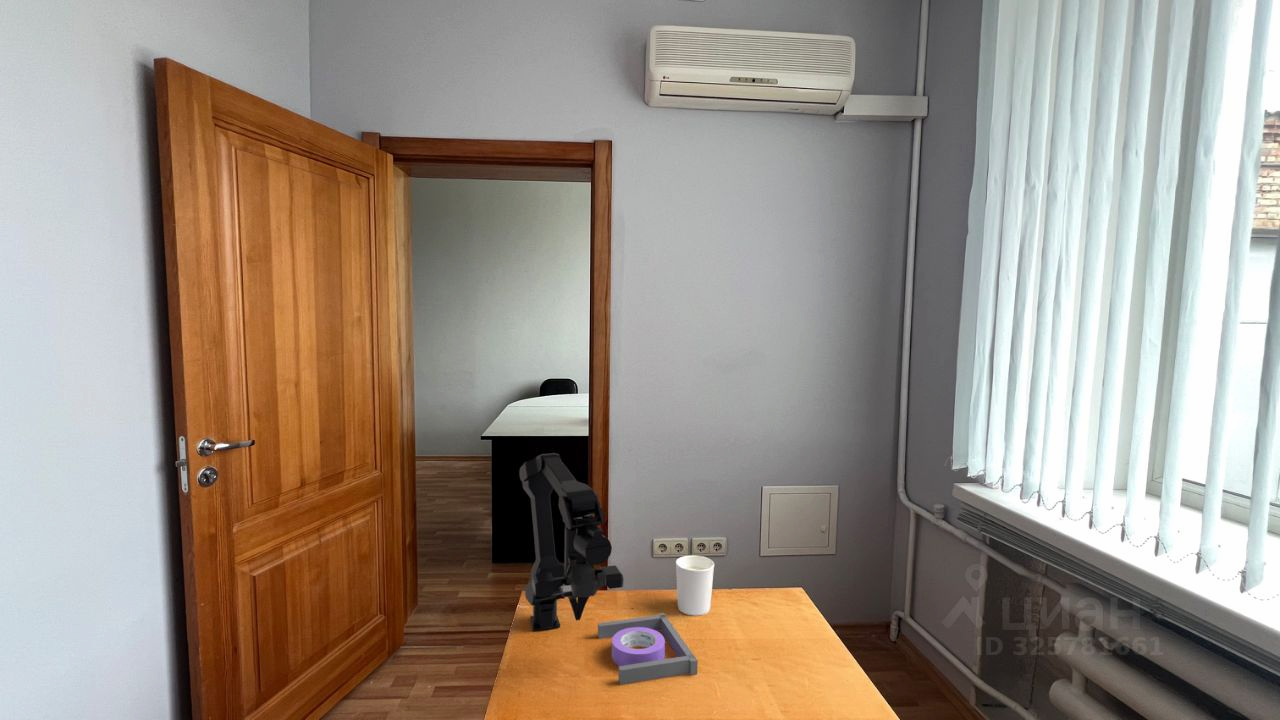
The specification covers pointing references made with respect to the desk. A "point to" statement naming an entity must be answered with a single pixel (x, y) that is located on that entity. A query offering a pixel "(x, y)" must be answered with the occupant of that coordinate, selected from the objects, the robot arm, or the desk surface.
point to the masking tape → (637, 638)
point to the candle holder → (694, 584)
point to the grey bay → (658, 668)
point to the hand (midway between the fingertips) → (577, 619)
